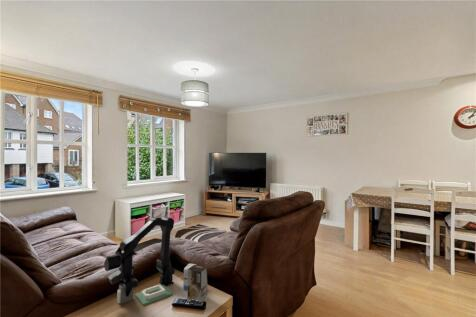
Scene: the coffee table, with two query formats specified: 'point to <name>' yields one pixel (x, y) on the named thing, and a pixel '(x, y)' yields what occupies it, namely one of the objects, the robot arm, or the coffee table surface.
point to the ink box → (186, 276)
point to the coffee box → (197, 283)
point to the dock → (153, 294)
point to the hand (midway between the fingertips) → (126, 294)
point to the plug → (123, 295)
